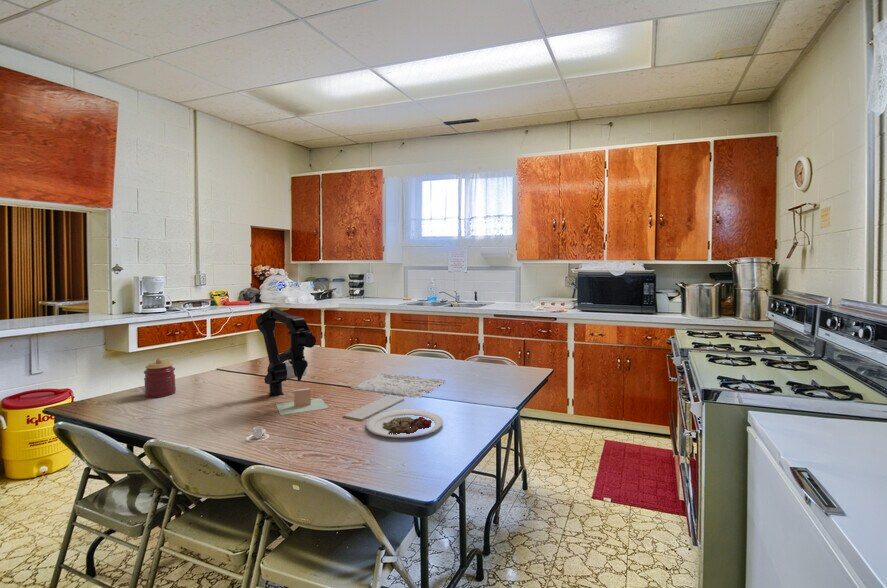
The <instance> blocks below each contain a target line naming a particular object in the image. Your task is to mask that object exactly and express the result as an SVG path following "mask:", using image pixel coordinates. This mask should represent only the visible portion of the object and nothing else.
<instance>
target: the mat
mask: <svg viewBox="0 0 887 588" xmlns="http://www.w3.org/2000/svg"><path fill="white" fill-rule="evenodd" d="M275 406H276V409H277V410H278V412H279V415H280V416H286V415H292V414H299V413H304V412H306V413H307V412H313V411H319V410H329V406H328V405H327V403H325V401H324V400H323V398H321V397H319V398H311V405H305V406H298V407H294V401H290V402H288V401H287V402H283V403H277V404H276V403H275Z"/></svg>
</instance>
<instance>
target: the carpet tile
mask: <svg viewBox="0 0 887 588" xmlns="http://www.w3.org/2000/svg"><path fill="white" fill-rule="evenodd" d="M445 381H446V379H445V380H444V379H442V378H440V379H439V378H429V377H424V378H423V377H419V376H413V375H412V376H410V375H403V374H402V375H392V374H388V373H381V374H378V375H375V376H374V377H372V378H371V379H368V380H364V381H363V382H361V383H358V384H356V385H352V386H350V389H351V390H355V391H364V392H370V393H377V394H378V393H379V394H384V395H389V394H390V395H392V394H395V395H396V396H400V397H401V396H402V397H408V398H409V397H410V398H416V397H421V398H422V396H423V395H424V394H422V393H426V395H428V394H429V393H430V392H429V391H431V390H433V389H434V388H436V387H437V388H439V387H440V386H442V385H443V384H442V383H444V382H445ZM445 383H446V382H445ZM445 383H444V384H445ZM436 384H437V385H436ZM441 384H442V385H441ZM439 385H440V386H439ZM438 386H439V387H438ZM437 388H436V389H437ZM434 390H435V389H434ZM434 390H433V391H434ZM424 391H425V392H424ZM428 392H429V393H428ZM431 392H432V391H431ZM427 393H428V394H427ZM395 395H394V396H395ZM418 395H422V396H418ZM424 396H425V395H424ZM424 396H423V397H424Z"/></svg>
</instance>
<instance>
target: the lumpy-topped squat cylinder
mask: <svg viewBox="0 0 887 588" xmlns="http://www.w3.org/2000/svg"><path fill="white" fill-rule="evenodd" d="M289 361H290V360H289ZM289 361H288V360H287V361H284V363H285V364H286V368H287V378H286V379H295V378H296V379H297V377H295V374H294V370H293V367H292V364H290V363H289ZM307 374H308V373H307V368H306V369H305V371H304V373H303V376H306V375H307ZM303 376H302V377H303Z"/></svg>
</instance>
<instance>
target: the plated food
mask: <svg viewBox="0 0 887 588" xmlns="http://www.w3.org/2000/svg"><path fill="white" fill-rule="evenodd" d="M403 415H404V416H405V415H414V416H422V417H419V418H416V419H412V418H411V417H400V416H403ZM399 417H400V418H399ZM423 417H426V418H429V419H431V420H432V421H434V423H435V426H434V427H433V428H432V429H431V430H429V431H427V432H424V433H421V434H416V435H408V436H399V435H397V434H400V433H406V434H410V433H414V432H416V431H417V430H418V429H422V428H423V429H425V428H429V427H431V423H432V421H431V420H427V419H425V418H423ZM443 424H444V420H443V419H442V417H441V416H440V415H438V414H436V413H434V412H431V411H426V410H421V409H410V408H409V409H404V408H403V409H394V410H388V411H384V412H383V411H382V412H379V413H377V414H375V415H373V416H371V417H369V418H367V419H366V422H365V428H366V429H367V430H368V431H369V432H370V433H372V434H374V435H378V436H381V437H387V438H396V439H397V438H402V439H403V438H405V439H406V438H416V437H420V436H421V437H422V436H425V435H429V434H431V433H434V432H436V431H438V430H439V429H440V428H442V427H443ZM410 427H411V428H410ZM390 433H391V435H390ZM392 433H393V435H392ZM396 433H397V434H396Z"/></svg>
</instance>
